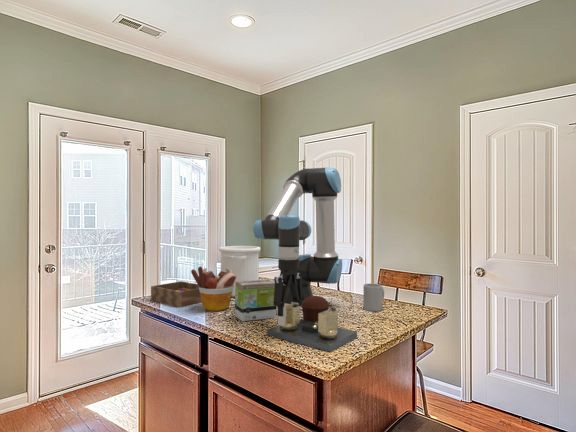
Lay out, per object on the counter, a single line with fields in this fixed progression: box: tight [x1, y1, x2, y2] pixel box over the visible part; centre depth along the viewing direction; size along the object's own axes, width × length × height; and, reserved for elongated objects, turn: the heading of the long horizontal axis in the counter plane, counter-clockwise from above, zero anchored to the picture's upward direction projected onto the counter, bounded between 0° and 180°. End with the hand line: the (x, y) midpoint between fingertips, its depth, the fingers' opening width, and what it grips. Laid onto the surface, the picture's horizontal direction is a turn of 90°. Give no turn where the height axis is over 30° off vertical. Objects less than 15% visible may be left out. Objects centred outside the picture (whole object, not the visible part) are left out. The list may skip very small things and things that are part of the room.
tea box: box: [234, 279, 277, 322], centre depth 155 cm, size 15×10×15 cm
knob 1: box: [276, 303, 301, 330], centre depth 133 cm, size 8×6×9 cm
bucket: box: [218, 245, 262, 298], centre depth 201 cm, size 26×22×25 cm
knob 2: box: [318, 307, 339, 339], centre depth 124 cm, size 8×6×9 cm
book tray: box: [150, 280, 202, 309], centre depth 184 cm, size 23×18×7 cm
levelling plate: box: [266, 318, 358, 353], centre depth 131 cm, size 26×18×4 cm
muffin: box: [300, 295, 331, 322], centre depth 149 cm, size 12×11×10 cm
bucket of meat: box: [190, 266, 236, 312], centre depth 169 cm, size 20×16×20 cm
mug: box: [362, 283, 385, 312], centre depth 171 cm, size 12×8×11 cm
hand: (288, 322), depth 133 cm, fingers open, 7 cm apart
